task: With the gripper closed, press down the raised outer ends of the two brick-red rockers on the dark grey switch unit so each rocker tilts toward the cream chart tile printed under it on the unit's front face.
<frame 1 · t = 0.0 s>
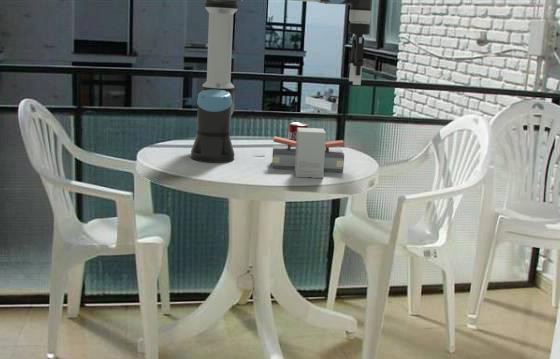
hand: (354, 83, 248), 28 cm above the table, fingers open, 13 cm apart
switch unit: (306, 167, 236), on the table
left rocker: (289, 142, 234), point 8 cm above the table, hinge at 10.0°
supplement box: (308, 175, 225), on the table
right rocker: (327, 144, 234), point 8 cm above the table, hinge at -10.0°
soda can: (296, 156, 254), on the table
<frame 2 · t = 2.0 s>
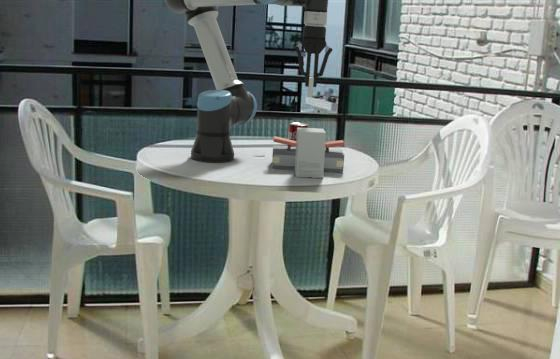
hand: (310, 96, 233), 24 cm above the table, fingers closed
nothing on the table moved.
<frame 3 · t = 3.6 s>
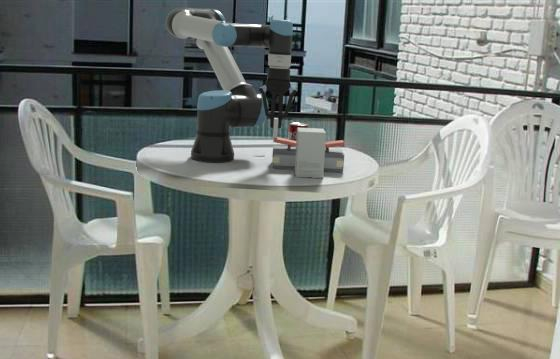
hand: (275, 137, 233), 10 cm above the table, fingers closed
left rocker: (289, 142, 234), point 8 cm above the table, hinge at 8.5°, touching gripper
everything else where it was.
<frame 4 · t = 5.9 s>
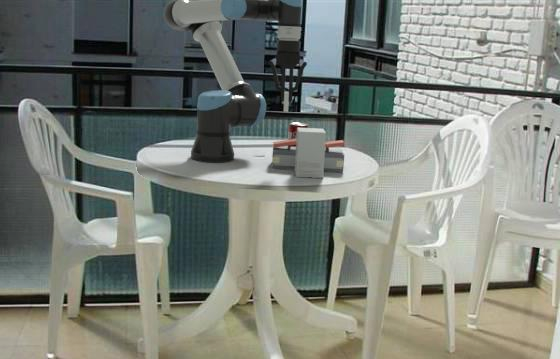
hand: (285, 111, 231), 19 cm above the table, fingers closed
left rocker: (289, 142, 234), point 8 cm above the table, hinge at -12.2°
everything else where it was.
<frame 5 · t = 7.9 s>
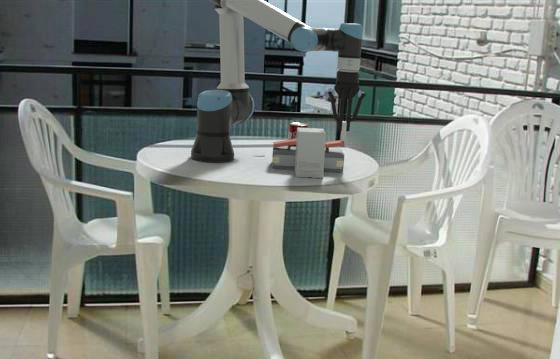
hand: (342, 140, 234), 10 cm above the table, fingers closed
right rocker: (327, 144, 234), point 8 cm above the table, hinge at -9.9°, touching gripper
everything else where it was.
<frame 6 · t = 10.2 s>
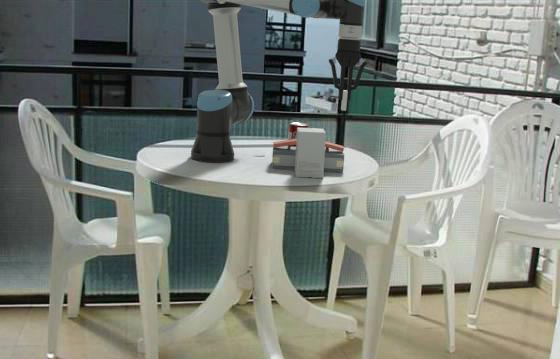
hand: (343, 109, 232), 20 cm above the table, fingers closed
right rocker: (327, 144, 234), point 8 cm above the table, hinge at 12.1°
everything else where it was.
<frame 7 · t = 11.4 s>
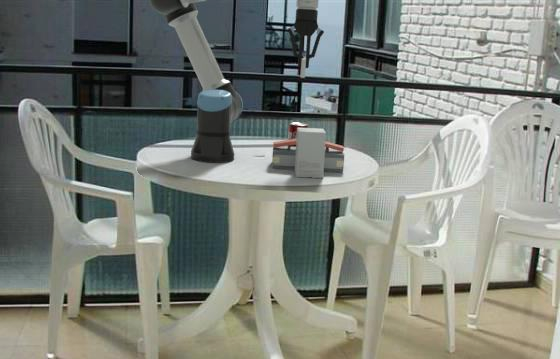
hand: (302, 77, 243), 29 cm above the table, fingers closed
nothing on the table moved.
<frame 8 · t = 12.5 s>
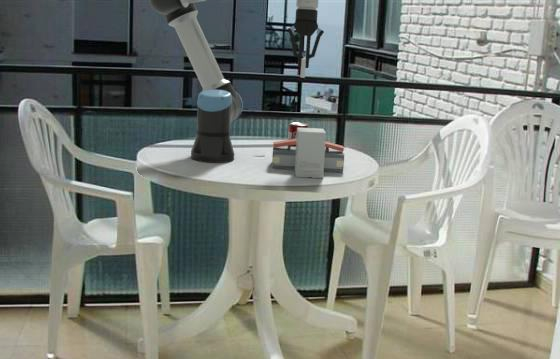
hand: (302, 77, 243), 29 cm above the table, fingers closed
nothing on the table moved.
at the end: left rocker at -12° (first picture: +10°); right rocker at +12° (first picture: -10°) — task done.
